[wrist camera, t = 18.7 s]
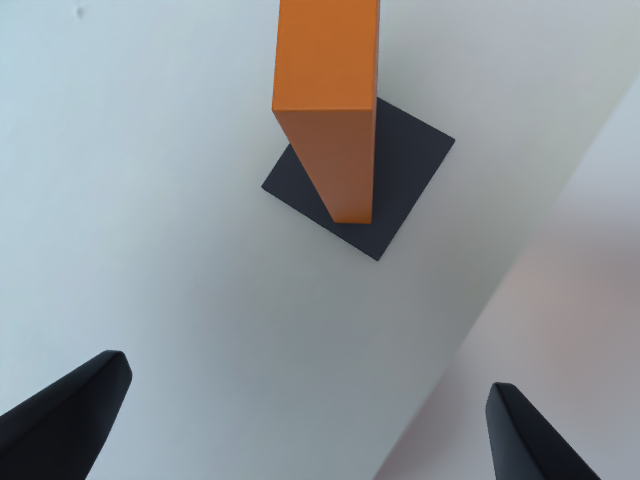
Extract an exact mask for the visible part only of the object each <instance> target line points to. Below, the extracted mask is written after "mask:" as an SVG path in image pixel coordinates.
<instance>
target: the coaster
mask: <svg viewBox="0 0 640 480" xmlns="http://www.w3.org/2000/svg"><path fill="white" fill-rule="evenodd" d="M454 142H455V139H454V138H452V137H450V136H448V135H446V134H444V133H443V132H441V131H439V130H437V129H435V128H433V127H432V126H430V125H428V124H426V123H424V122H422V121H420V120H419V119H417V118H415V117H413V116H411V115H409V114H408V113H406V112H404V111H402V110H400V109H398V108H397V107H395V106H393V105H391V104H389V103H387V102H386V101H384V100H382V99H380V98H378V97H377V107H376V130H375V153H374V175H373V198H372V221H371V224H358V223H335V222H334V220H333V218H332V217H331V215H330V213H329V211H328V209H327V208H326V206H325V204H324V202H323V201H322V199H321V197H320V195H319V193H318V192H317V190H316V188H315V186H314V184H313V183H312V181H311V179H310V177H309V176H308V174H307V172H306V170H305V168H304V167H303V165H302V163H301V161H300V160H299V158H298V156H297V154H296V152H295V151H294V149H293V147H292V145H291V144H289V145H288V147H287V148H286V150H285V151H284V153H283V154H282V156H281V157H280V159H279V160H278V162H277V163H276V165H275V166H274V168H273V169H272V171H271V173H270V174H269V176H268V177H267V179H266V180H265V182H264V183H263V185H262V186H261V187H262V188H263V189H264V190H266V191H267V192H269V193H270V194H272V195H274V196H275V197H277V198H278V199H280V200H282V201H283V202H285V203H286V204H288V205H289V206H291V207H293V208H294V209H296V210H297V211H299V212H300V213H302V214H304V215H305V216H307V217H308V218H310V219H312V220H313V221H315V222H316V223H318V224H319V225H321V226H323V227H324V228H326V229H327V230H329V231H331V232H332V233H334V234H335V235H337V236H338V237H340V238H342V239H343V240H345V241H346V242H348V243H349V244H351V245H353V246H354V247H356V248H357V249H359V250H361V251H362V252H364V253H365V254H367V255H368V256H370V257H372V258H373V259H375V260H376V261H378V260H379V259H380V257H381V256H382V254H383V253H384V251H385V249H386V248H387V246H388V245H389V243H390V242H391V240H392V239H393V237H394V235H395V234H396V232H397V231H398V229H399V228H400V226H401V224H402V223H403V221H404V220H405V218H406V217H407V215H408V214H409V212H410V210H411V209H412V207H413V206H414V204H415V203H416V201H417V200H418V198H419V196H420V195H421V193H422V192H423V190H424V189H425V187H426V186H427V184H428V182H429V181H430V179H431V178H432V176H433V175H434V173H435V172H436V170H437V168H438V167H439V165H440V164H441V162H442V161H443V159H444V158H445V156H446V154H447V153H448V151H449V150H450V148H451V147H452V145H453V144H454Z"/></svg>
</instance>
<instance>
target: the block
mask: <svg viewBox="0 0 640 480" xmlns="http://www.w3.org/2000/svg"><path fill="white" fill-rule="evenodd" d="M379 21H380V0H280V8H279V21H278V34H277V47H276V60H275V73H274V86H273V99H272V111H273V113H274V115H275V117H276V119H277V120H278V122H279V124H280V126H281V127H282V129H283V131H284V133H285V135H286V136H287V138H288V140H289V142H290V144H291V145H292V147H293V149H294V151H295V152H296V154H297V156H298V158H299V160H300V161H301V163H302V165H303V167H304V168H305V170H306V172H307V174H308V176H309V177H310V179H311V181H312V183H313V184H314V186H315V188H316V190H317V192H318V193H319V195H320V197H321V199H322V201H323V202H324V204H325V206H326V208H327V209H328V211H329V213H330V215H331V217H332V218H333V220H334V222H335V223H358V224H371V221H372V198H373V175H374V153H375V130H376V107H377V78H378V49H379Z"/></svg>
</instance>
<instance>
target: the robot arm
mask: <svg viewBox="0 0 640 480" xmlns="http://www.w3.org/2000/svg"><path fill="white" fill-rule="evenodd" d="M131 381H132V371H131V368H130V366H129V363H128V361H127V359H126V356H125V354H124V353H123V352H122V351H116V350H106V351H104V352H102V353H100V354H99V355H97V356H95V357H94V358H92V359H91V360H89V361H87V362H86V363H84V364H83V365H81V366H79V367H78V368H76V369H75V370H73V371H72V372H70V373H68V374H67V375H65V376H64V377H62V378H60V379H59V380H57V381H56V382H54V383H52V384H51V385H49V386H48V387H46V388H44V389H43V390H41V391H40V392H38V393H37V394H35V395H33V396H32V397H30V398H29V399H27V400H25V401H24V402H22V403H21V404H19V405H17V406H16V407H14V408H13V409H11V410H10V411H8V412H6V413H5V414H3V415H2V416H0V480H85V479H86V477H87V475H88V473H89V472H90V470H91V468H92V466H93V464H94V462H95V460H96V459H97V457H98V455H99V453H100V451H101V449H102V447H103V445H104V443H105V441H106V439H107V437H108V435H109V433H110V431H111V428H112V426H113V424H114V421H115V419H116V417H117V414H118V412H119V410H120V407H121V405H122V402H123V400H124V398H125V395H126V393H127V391H128V388H129V386H130V384H131ZM486 420H487V426H488V432H489V438H490V445H491V451H492V456H493V462H494V469H495V476H496V480H601V479H600V478H599V477H598V476H597V474H596V473H595V472H594V471H593V470H592V469H591V468H590V467H589V466H588V465H587V464H586V463H585V461H584V460H583V459H582V458H581V457H580V456H579V455H578V454H577V453H576V452H575V451H574V450H573V448H572V447H571V446H570V445H569V444H568V443H567V442H566V441H565V440H564V439H563V437H562V436H561V435H560V434H559V433H558V432H557V431H556V430H555V429H554V428H553V427H552V425H551V424H550V423H549V422H548V421H547V420H546V419H545V418H544V417H543V416H542V415H541V413H540V412H539V411H538V410H537V409H536V408H535V407H534V406H533V405H532V404H531V403H530V401H529V400H528V399H527V398H526V397H525V396H524V395H523V394H522V393H521V392H520V391H519V389H517V387H516V386H514V385H513V384H510V383H500V382H495V383H493V385H492V387H491V390H490V394H489V397H488V400H487V403H486Z"/></svg>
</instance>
